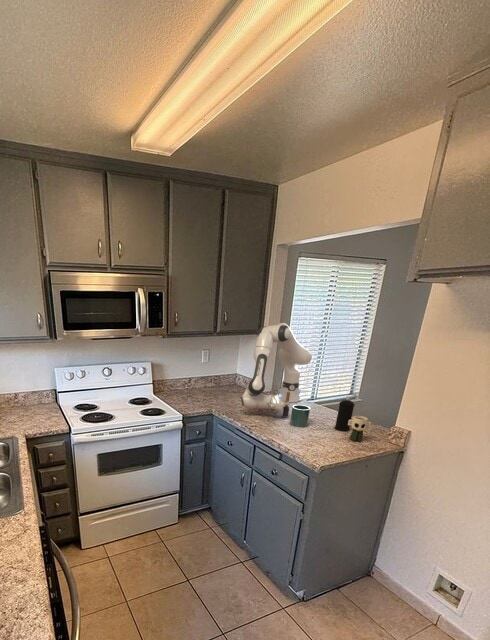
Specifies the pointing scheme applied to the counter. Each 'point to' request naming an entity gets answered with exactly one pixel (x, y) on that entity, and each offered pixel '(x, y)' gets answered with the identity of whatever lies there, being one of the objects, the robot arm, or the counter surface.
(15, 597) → the counter surface
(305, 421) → the green cup
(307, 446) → the counter surface
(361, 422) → the cartoon character figurine
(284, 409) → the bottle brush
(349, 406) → the aerosol can
